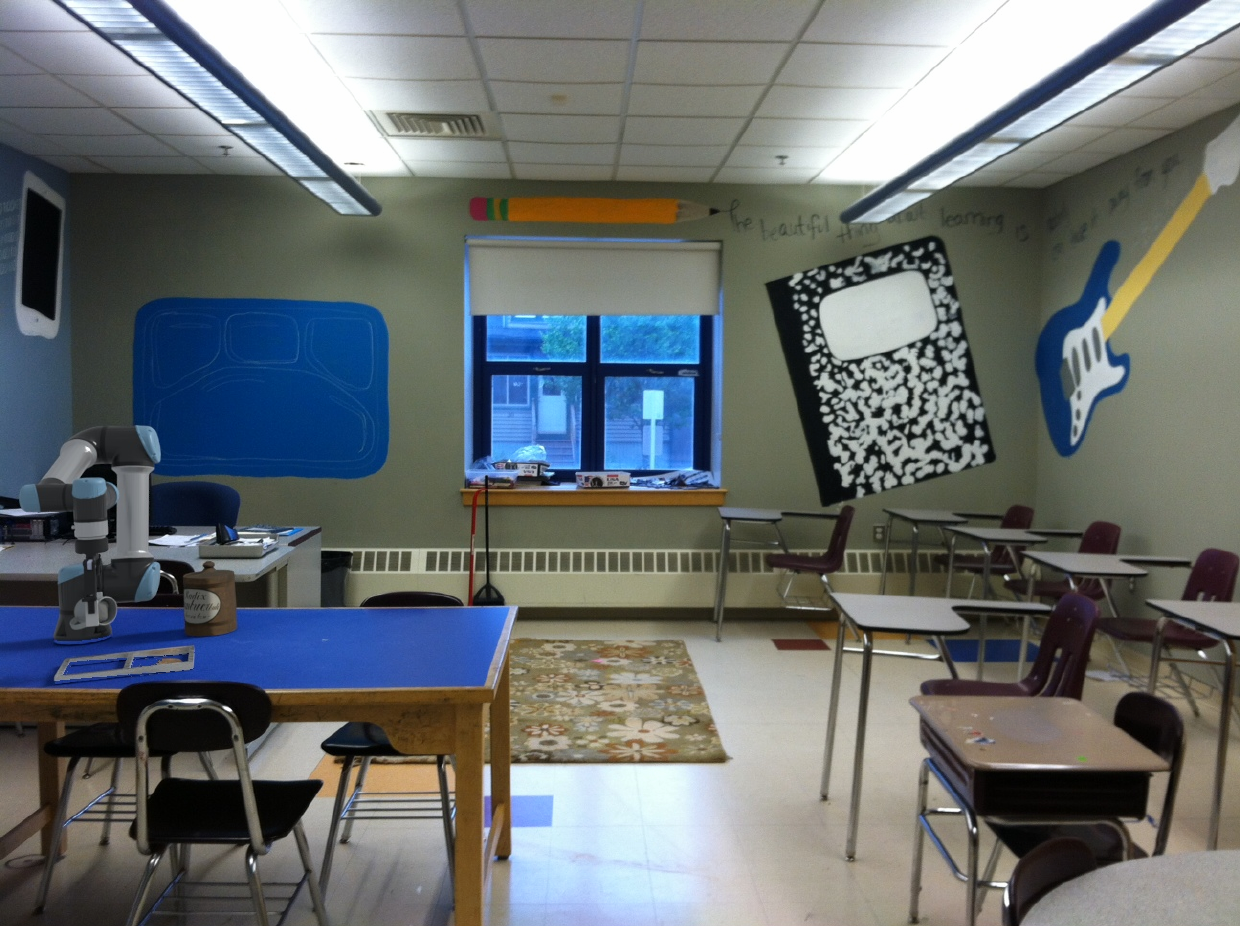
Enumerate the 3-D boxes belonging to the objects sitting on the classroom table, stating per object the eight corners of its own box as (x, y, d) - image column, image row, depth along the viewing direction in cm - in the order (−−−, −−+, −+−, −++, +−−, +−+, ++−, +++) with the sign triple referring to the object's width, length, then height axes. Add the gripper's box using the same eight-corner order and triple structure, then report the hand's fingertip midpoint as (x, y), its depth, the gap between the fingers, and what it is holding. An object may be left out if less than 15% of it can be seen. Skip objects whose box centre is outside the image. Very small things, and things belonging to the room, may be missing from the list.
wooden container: (173, 635, 271) (171, 564, 270) (208, 624, 285) (206, 556, 284) (214, 638, 267) (212, 566, 266) (247, 627, 281) (245, 558, 280)
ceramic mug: (94, 619, 237) (92, 592, 237) (118, 621, 235) (117, 594, 235) (61, 629, 227) (59, 601, 227) (86, 631, 225) (84, 603, 225)
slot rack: (65, 665, 238) (65, 658, 238) (194, 652, 251) (194, 645, 251) (54, 685, 221) (54, 677, 220) (193, 669, 234) (193, 661, 234)
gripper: (80, 532, 240) (83, 613, 241) (68, 544, 219) (72, 632, 220) (112, 530, 243) (115, 610, 244) (103, 542, 222) (106, 629, 224)
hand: (94, 621), depth 232 cm, fingers closed on ceramic mug, 10 cm apart
